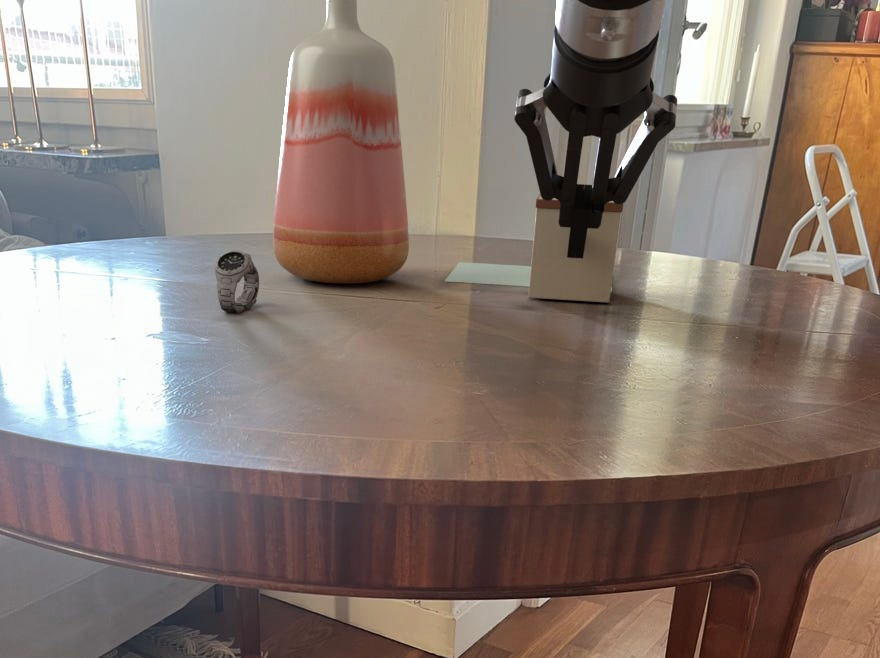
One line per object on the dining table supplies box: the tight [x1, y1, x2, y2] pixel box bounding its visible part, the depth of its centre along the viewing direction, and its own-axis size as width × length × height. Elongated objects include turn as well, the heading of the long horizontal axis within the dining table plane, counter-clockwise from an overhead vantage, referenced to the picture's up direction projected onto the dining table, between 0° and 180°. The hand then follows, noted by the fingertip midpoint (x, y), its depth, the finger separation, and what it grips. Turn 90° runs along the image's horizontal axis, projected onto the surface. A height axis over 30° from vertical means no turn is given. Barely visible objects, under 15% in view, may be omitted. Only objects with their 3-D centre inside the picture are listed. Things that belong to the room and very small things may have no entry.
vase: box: [272, 0, 410, 285], centre depth 96 cm, size 14×14×30 cm
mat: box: [443, 261, 613, 293], centre depth 108 cm, size 18×14×1 cm
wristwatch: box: [214, 250, 260, 314], centre depth 86 cm, size 4×6×5 cm, turn 164°
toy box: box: [527, 193, 624, 304], centre depth 96 cm, size 8×8×9 cm
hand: (576, 245), depth 91 cm, fingers closed
